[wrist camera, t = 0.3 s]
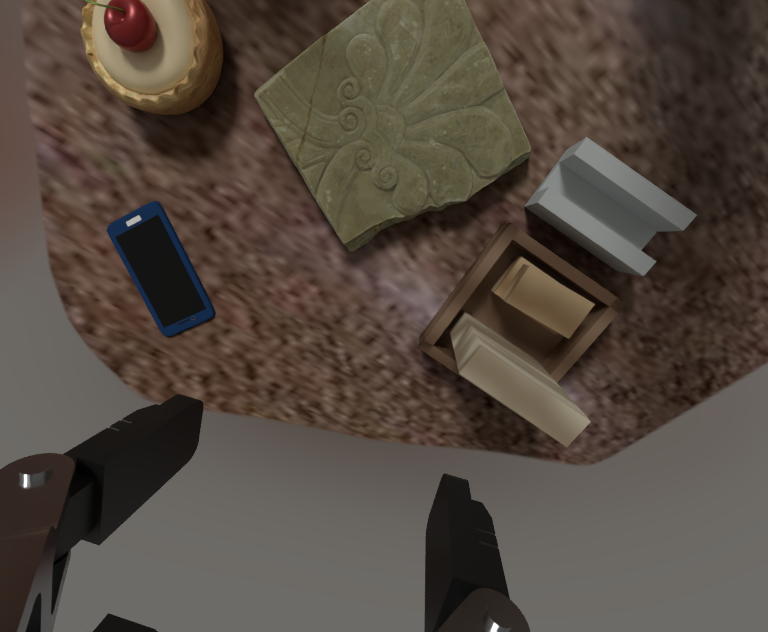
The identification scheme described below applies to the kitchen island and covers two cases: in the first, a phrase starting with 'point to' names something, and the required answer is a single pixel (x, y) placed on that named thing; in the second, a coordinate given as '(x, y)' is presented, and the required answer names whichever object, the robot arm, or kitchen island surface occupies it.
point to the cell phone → (161, 269)
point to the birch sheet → (514, 378)
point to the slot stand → (606, 207)
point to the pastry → (154, 52)
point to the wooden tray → (509, 320)
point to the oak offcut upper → (547, 301)
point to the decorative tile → (394, 115)
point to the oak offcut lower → (508, 277)
